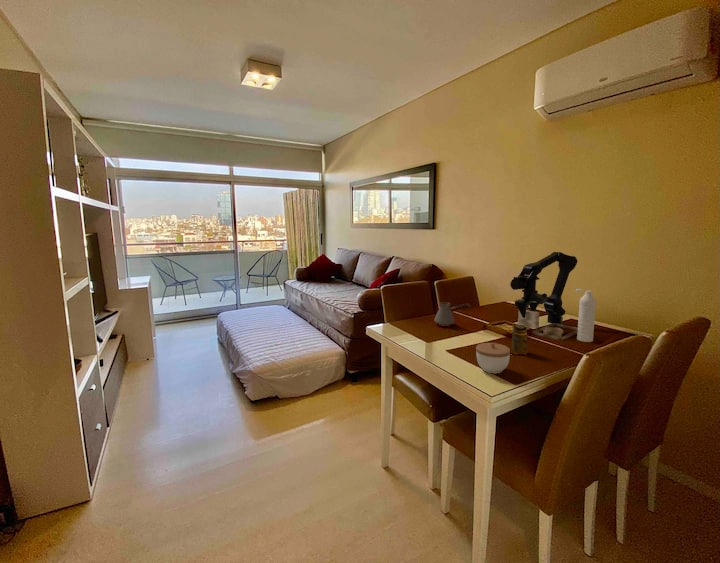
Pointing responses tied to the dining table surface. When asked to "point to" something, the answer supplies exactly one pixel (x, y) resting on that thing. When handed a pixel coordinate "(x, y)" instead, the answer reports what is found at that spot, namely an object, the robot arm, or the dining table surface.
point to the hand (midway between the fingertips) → (528, 316)
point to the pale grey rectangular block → (529, 319)
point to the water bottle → (586, 317)
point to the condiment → (519, 339)
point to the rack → (554, 336)
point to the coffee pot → (446, 313)
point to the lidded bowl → (492, 357)
